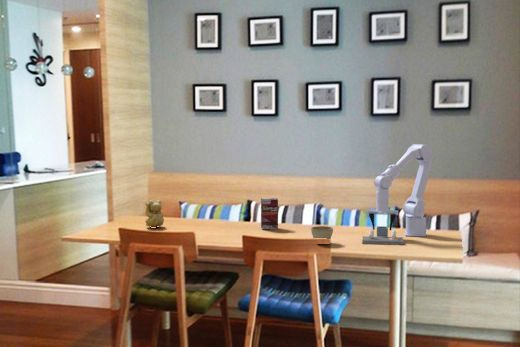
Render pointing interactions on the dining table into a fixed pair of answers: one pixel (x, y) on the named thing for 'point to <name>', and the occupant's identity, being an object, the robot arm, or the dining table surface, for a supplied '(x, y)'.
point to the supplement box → (269, 213)
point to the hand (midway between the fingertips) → (382, 229)
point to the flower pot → (322, 232)
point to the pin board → (382, 239)
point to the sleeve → (382, 231)
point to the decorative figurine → (154, 214)
